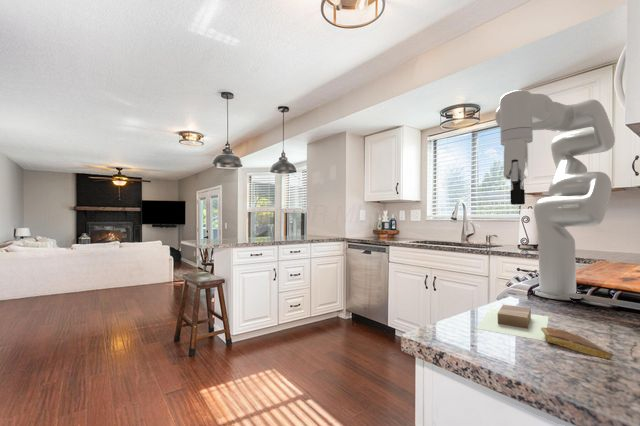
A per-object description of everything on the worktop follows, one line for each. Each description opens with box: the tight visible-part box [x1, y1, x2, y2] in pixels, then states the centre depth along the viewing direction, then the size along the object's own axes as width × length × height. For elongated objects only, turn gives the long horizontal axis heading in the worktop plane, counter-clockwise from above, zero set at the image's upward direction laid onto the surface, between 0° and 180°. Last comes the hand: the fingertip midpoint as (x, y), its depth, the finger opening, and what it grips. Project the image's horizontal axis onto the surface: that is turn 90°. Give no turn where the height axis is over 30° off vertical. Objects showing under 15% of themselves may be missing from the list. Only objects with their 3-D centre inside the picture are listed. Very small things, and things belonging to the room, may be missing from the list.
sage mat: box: [476, 308, 549, 342], centre depth 78 cm, size 19×13×1 cm
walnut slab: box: [498, 303, 532, 329], centre depth 79 cm, size 2×6×9 cm
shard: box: [541, 327, 614, 361], centre depth 63 cm, size 11×8×2 cm
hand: (517, 204), depth 89 cm, fingers closed
